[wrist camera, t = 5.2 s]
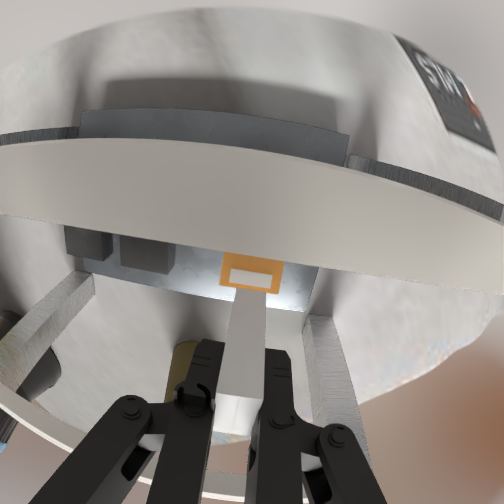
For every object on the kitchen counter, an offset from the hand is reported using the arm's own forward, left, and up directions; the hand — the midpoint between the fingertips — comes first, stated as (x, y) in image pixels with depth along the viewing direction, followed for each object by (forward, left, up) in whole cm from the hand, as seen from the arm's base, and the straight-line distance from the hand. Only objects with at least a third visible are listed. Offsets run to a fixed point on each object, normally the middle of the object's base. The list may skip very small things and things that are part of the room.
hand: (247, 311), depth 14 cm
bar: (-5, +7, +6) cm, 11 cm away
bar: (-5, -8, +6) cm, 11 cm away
